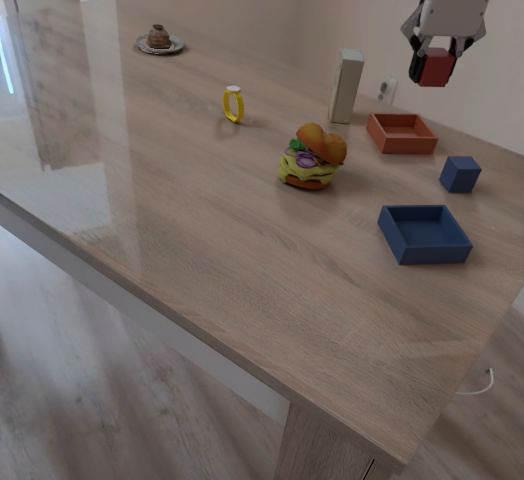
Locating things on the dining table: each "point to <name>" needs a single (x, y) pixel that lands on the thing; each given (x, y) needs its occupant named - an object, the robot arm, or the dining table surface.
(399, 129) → the terracotta tray
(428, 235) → the blue tray
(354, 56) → the cosmetic box
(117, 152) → the dining table surface
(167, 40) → the pastry
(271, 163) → the dining table surface
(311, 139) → the cheeseburger
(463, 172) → the blue block
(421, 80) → the red block
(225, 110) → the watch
